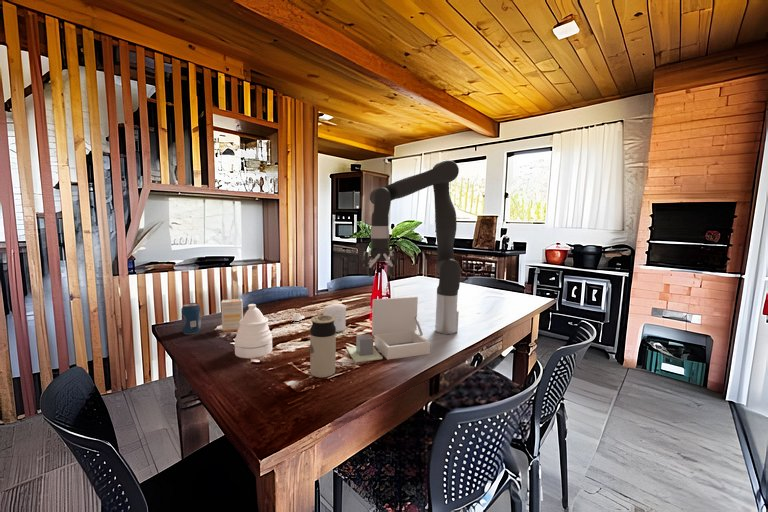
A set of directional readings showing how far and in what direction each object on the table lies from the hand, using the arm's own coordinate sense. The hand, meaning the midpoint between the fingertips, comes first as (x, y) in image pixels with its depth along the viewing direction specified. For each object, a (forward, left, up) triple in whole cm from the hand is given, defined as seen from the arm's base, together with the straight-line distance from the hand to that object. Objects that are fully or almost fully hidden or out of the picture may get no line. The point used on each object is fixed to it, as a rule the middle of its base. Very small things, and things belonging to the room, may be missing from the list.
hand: (379, 275), depth 138 cm
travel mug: (+28, +26, -26) cm, 47 cm away
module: (+11, +16, -26) cm, 32 cm away
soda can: (+74, -28, -26) cm, 84 cm away
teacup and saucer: (+28, -31, -27) cm, 49 cm away
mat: (+11, +16, -26) cm, 33 cm away
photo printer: (+16, -12, -26) cm, 33 cm away
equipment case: (-4, +16, -26) cm, 31 cm away
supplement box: (+58, -27, -26) cm, 70 cm away
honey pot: (+49, +1, -26) cm, 56 cm away
